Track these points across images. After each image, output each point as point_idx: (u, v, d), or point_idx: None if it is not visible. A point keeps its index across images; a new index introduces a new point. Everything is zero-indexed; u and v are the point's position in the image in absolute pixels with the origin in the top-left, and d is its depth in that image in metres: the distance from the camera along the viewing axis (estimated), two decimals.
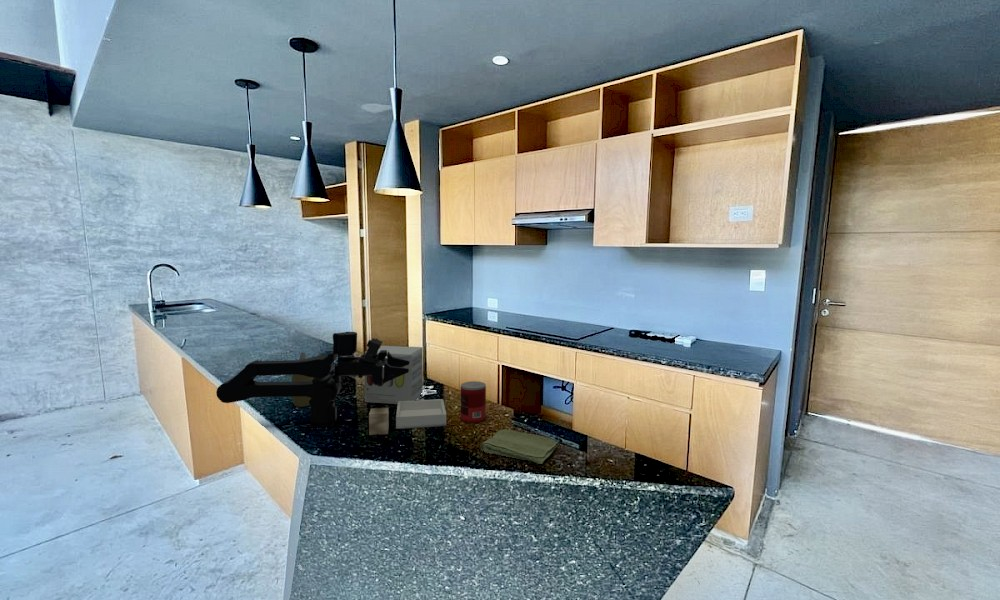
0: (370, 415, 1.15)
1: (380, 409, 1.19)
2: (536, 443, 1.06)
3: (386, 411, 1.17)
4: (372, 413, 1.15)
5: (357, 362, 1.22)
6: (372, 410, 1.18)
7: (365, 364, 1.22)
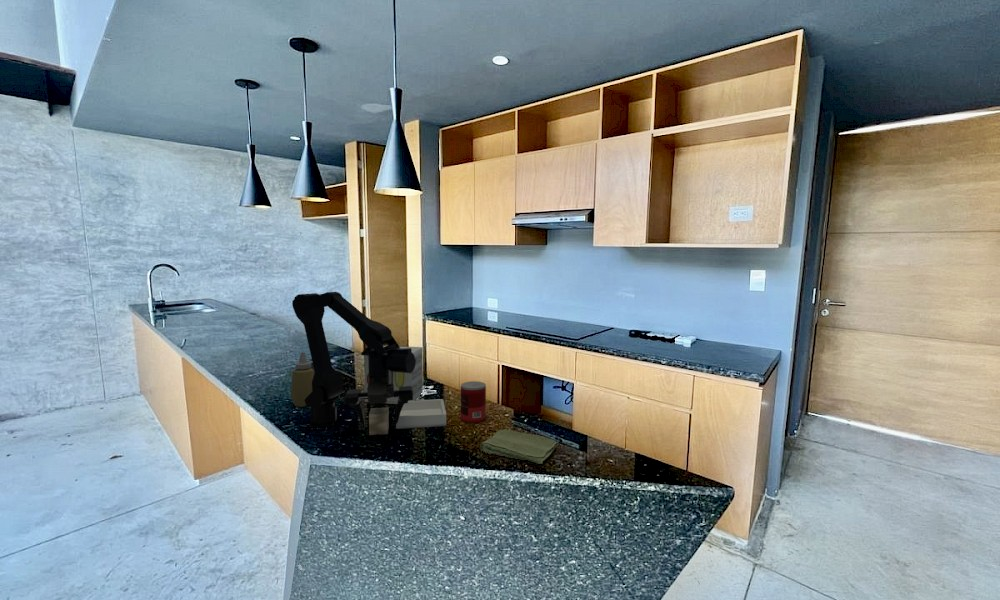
0: (370, 415, 1.15)
1: (380, 409, 1.19)
2: (536, 443, 1.06)
3: (386, 411, 1.17)
4: (372, 413, 1.15)
5: (370, 374, 1.15)
6: (373, 410, 1.18)
7: None
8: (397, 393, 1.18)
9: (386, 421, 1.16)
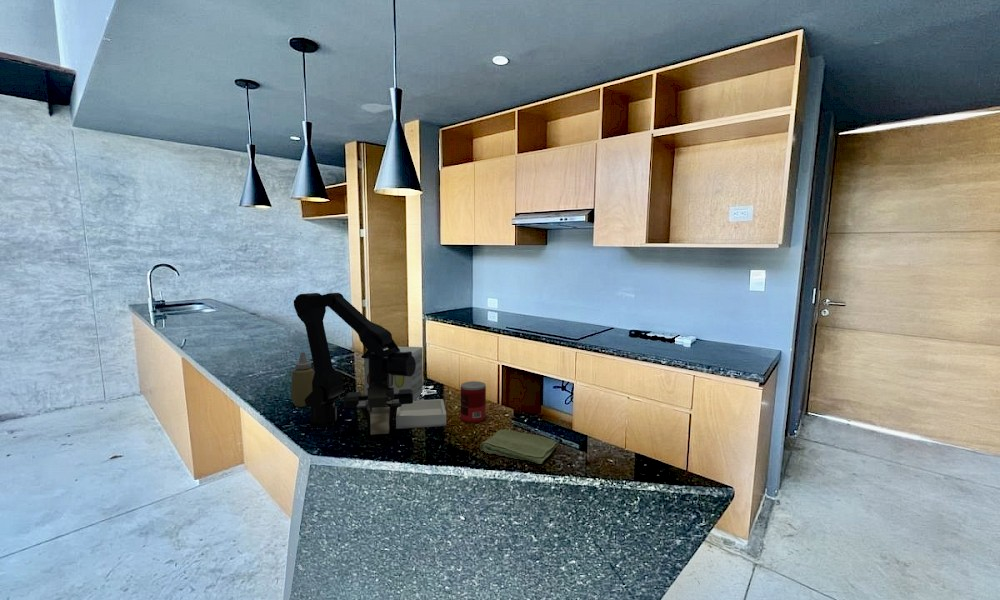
0: (371, 415, 1.15)
1: (381, 409, 1.19)
2: (535, 443, 1.06)
3: (387, 410, 1.18)
4: (373, 413, 1.15)
5: (370, 377, 1.15)
6: (374, 409, 1.18)
7: None
8: None
9: (387, 420, 1.16)
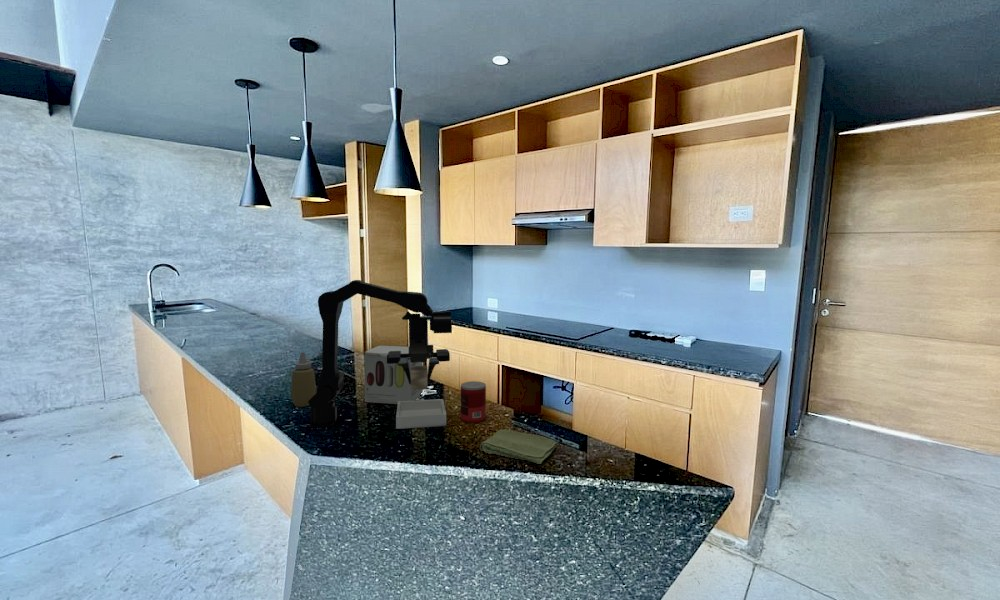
0: (412, 371, 1.24)
1: (420, 367, 1.28)
2: (535, 443, 1.06)
3: (426, 368, 1.26)
4: (413, 369, 1.24)
5: (410, 336, 1.23)
6: (413, 367, 1.27)
7: (410, 344, 1.24)
8: None
9: (426, 377, 1.25)
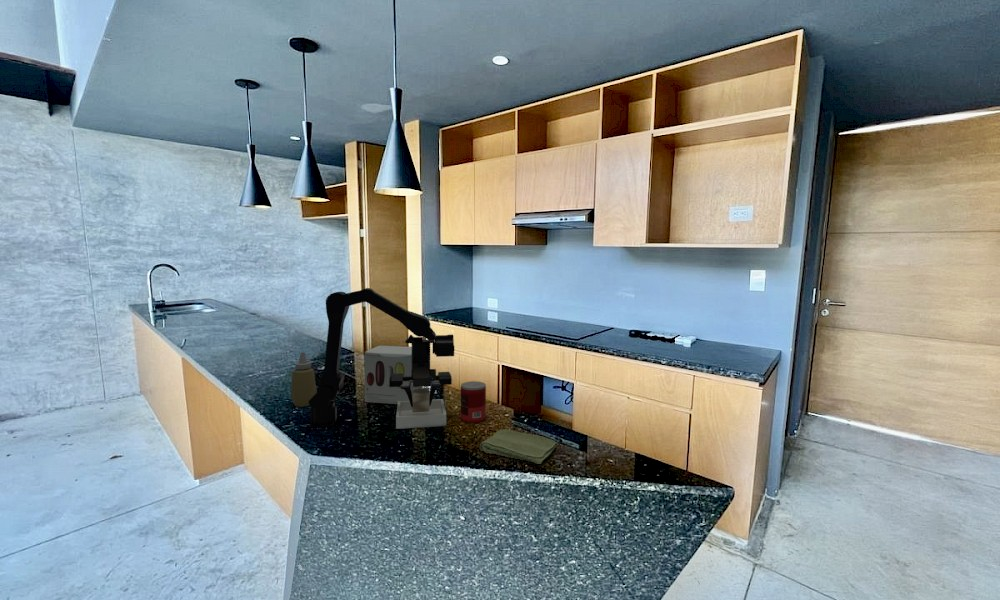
0: (414, 394, 1.25)
1: (422, 389, 1.29)
2: (535, 443, 1.06)
3: (428, 391, 1.28)
4: (415, 392, 1.26)
5: (413, 360, 1.25)
6: (415, 390, 1.28)
7: (412, 367, 1.25)
8: None
9: (428, 400, 1.26)
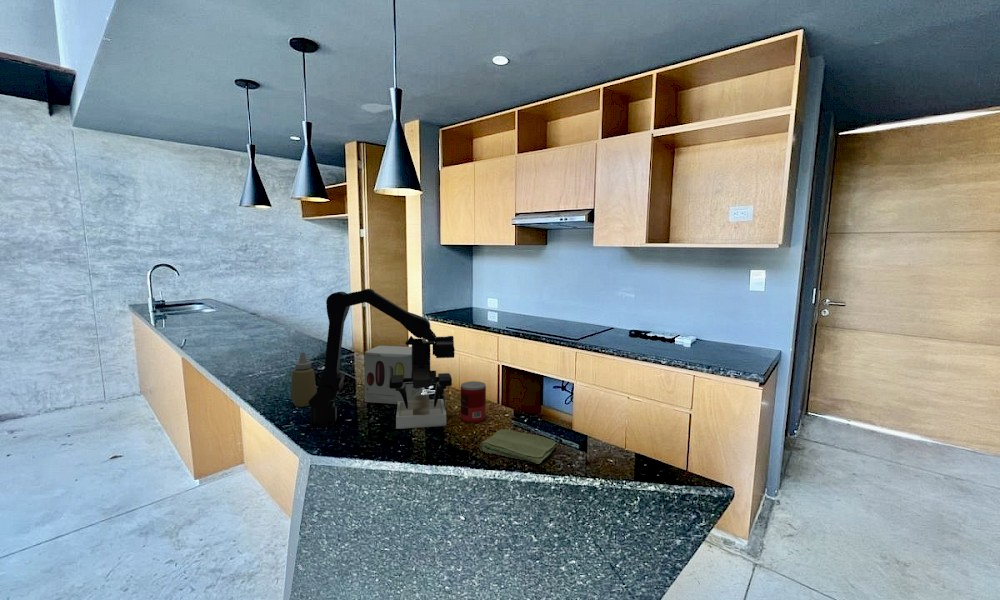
0: (414, 401, 1.25)
1: (422, 396, 1.29)
2: (535, 443, 1.06)
3: (427, 398, 1.28)
4: (415, 400, 1.26)
5: (413, 361, 1.25)
6: (415, 397, 1.29)
7: (412, 368, 1.25)
8: (436, 379, 1.28)
9: (428, 407, 1.26)
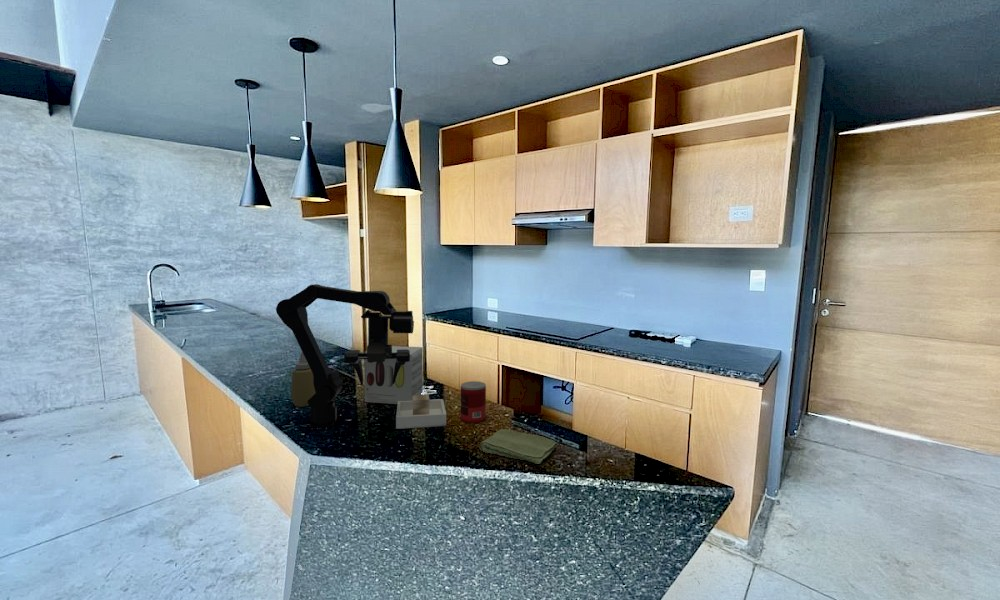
0: (414, 401, 1.25)
1: (422, 396, 1.29)
2: (535, 443, 1.06)
3: (427, 398, 1.28)
4: (415, 400, 1.26)
5: (369, 335, 1.21)
6: (415, 397, 1.29)
7: (369, 343, 1.21)
8: (395, 355, 1.24)
9: (428, 407, 1.26)
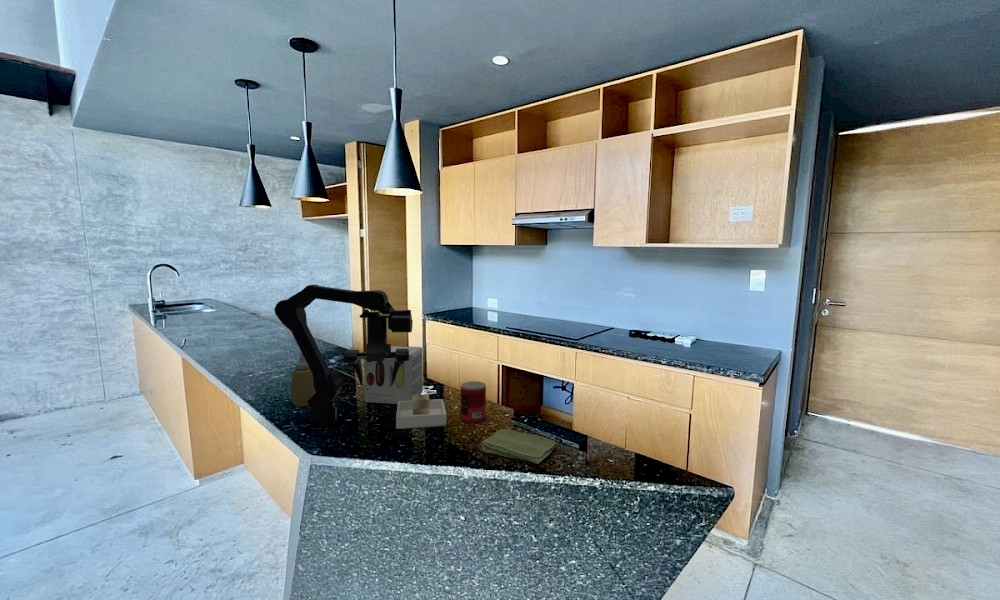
0: (414, 401, 1.25)
1: (422, 396, 1.29)
2: (534, 443, 1.06)
3: (427, 398, 1.28)
4: (415, 400, 1.26)
5: (368, 335, 1.21)
6: (415, 397, 1.29)
7: None
8: (394, 354, 1.24)
9: (428, 407, 1.26)
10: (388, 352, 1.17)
